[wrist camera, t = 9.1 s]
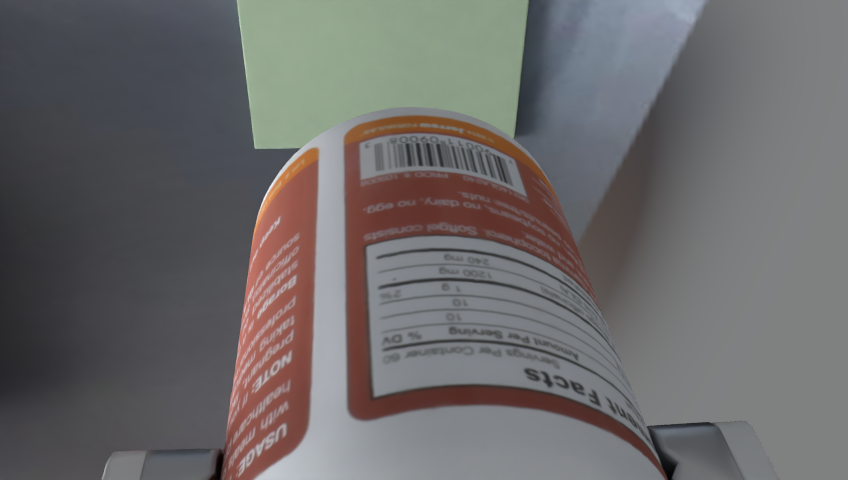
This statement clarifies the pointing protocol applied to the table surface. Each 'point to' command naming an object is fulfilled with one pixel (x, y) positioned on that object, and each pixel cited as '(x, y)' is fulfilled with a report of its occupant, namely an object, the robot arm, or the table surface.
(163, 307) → the table surface
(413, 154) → the pill bottle
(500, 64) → the mat
